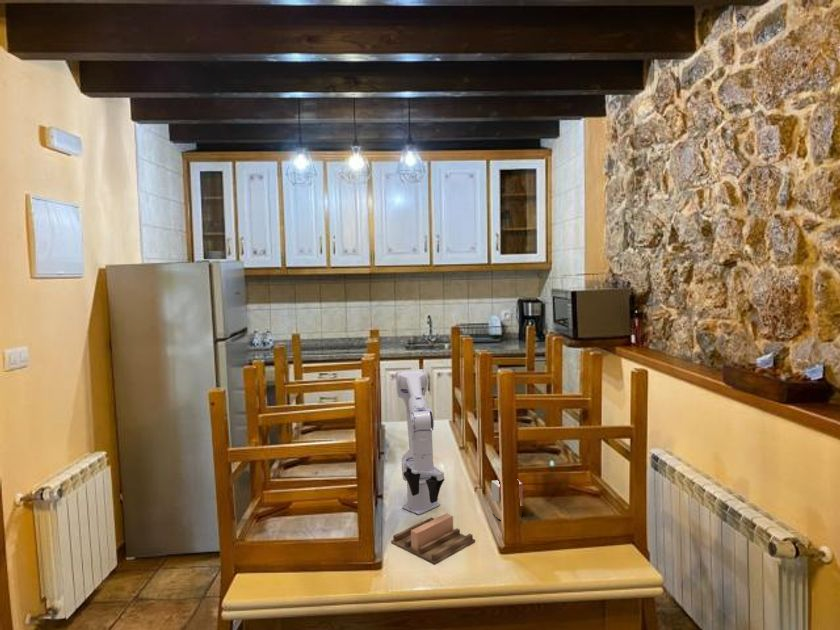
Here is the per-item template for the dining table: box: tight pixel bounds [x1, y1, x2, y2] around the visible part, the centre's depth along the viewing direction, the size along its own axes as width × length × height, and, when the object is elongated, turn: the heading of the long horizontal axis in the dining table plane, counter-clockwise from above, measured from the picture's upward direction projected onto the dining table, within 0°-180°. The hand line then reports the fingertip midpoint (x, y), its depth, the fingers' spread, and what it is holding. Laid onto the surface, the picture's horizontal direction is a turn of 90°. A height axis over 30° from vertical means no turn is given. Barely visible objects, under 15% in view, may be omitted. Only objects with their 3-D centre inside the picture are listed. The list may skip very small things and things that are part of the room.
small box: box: [491, 479, 524, 507], centre depth 171 cm, size 8×6×10 cm
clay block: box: [411, 513, 454, 551], centre depth 156 cm, size 14×2×5 cm, turn 134°
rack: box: [390, 517, 476, 566], centre depth 157 cm, size 16×17×2 cm
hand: (424, 498), depth 164 cm, fingers open, 7 cm apart
